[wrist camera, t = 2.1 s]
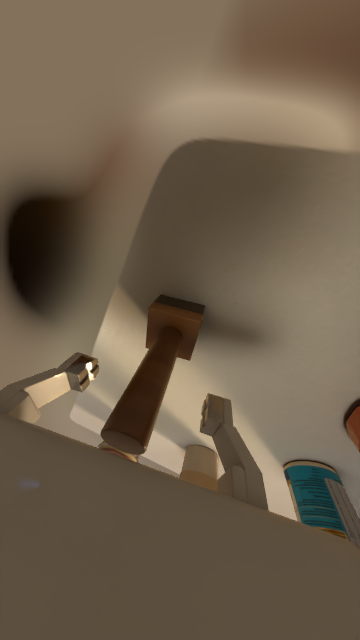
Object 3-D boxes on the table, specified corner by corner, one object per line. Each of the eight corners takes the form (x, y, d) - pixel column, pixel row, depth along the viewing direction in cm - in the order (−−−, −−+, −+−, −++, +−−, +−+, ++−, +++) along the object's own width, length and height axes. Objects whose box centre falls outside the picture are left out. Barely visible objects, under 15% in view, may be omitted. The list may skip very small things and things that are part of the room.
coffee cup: (196, 463, 37) (184, 583, 25) (173, 444, 35) (147, 567, 22) (230, 462, 33) (238, 606, 21) (207, 440, 31) (200, 589, 18)
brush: (160, 294, 17) (65, 398, 6) (204, 305, 17) (181, 438, 6) (156, 330, 20) (83, 446, 9) (194, 341, 19) (164, 476, 9)
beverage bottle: (349, 470, 25) (609, 945, 9) (319, 484, 30) (451, 817, 13) (295, 453, 26) (431, 848, 10) (274, 470, 31) (341, 761, 14)
